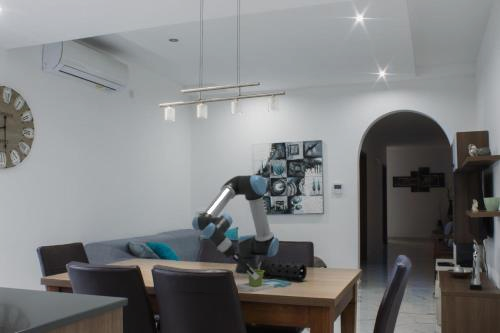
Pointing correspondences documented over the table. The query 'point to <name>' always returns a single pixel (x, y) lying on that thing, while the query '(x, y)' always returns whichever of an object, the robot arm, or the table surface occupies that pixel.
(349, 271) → the table surface
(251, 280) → the plant pot
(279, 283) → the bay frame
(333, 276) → the table surface
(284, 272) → the muzzle brake
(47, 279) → the table surface
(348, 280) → the table surface
